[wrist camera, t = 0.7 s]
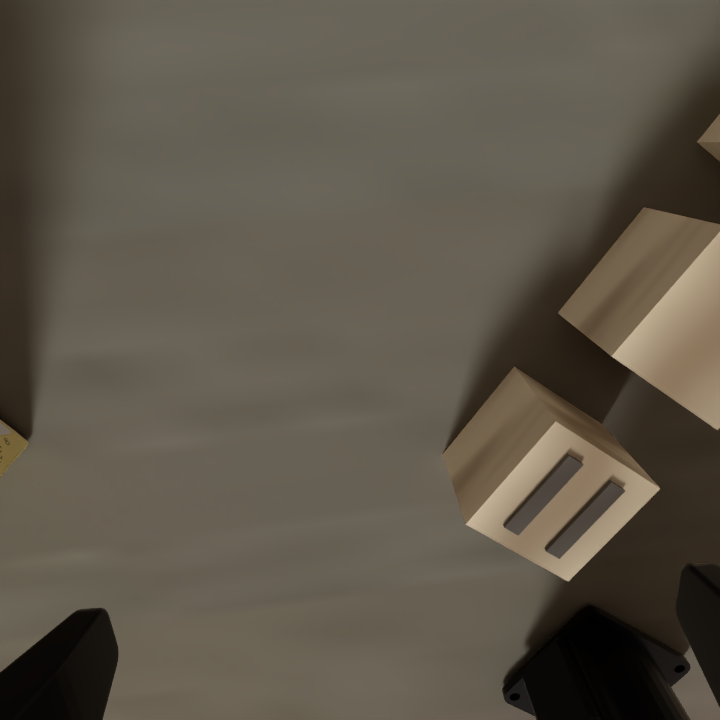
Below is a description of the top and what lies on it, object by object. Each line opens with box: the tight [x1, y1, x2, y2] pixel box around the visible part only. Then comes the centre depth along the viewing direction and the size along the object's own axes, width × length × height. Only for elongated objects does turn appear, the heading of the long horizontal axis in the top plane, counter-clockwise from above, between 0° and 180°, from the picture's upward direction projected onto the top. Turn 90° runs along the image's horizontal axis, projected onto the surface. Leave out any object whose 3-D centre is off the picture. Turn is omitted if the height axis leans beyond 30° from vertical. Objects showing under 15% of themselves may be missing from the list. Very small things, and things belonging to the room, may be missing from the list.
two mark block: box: [443, 367, 660, 582], centre depth 21 cm, size 4×4×5 cm
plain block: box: [558, 207, 720, 430], centre depth 19 cm, size 4×4×4 cm
